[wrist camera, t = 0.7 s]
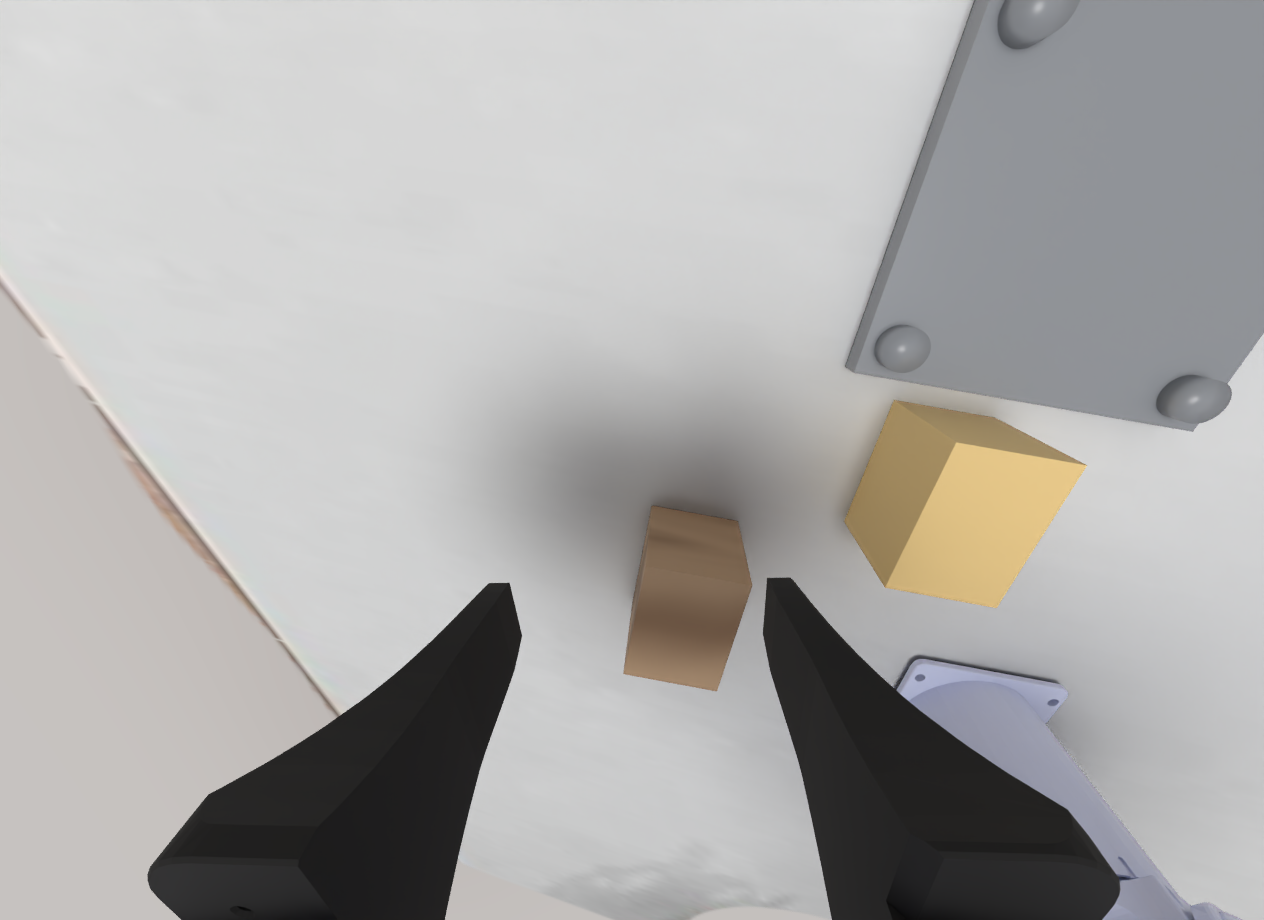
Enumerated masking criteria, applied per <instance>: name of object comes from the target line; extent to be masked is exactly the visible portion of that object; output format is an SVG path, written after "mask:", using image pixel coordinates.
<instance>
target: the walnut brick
mask: <svg viewBox="0 0 1264 920" xmlns="http://www.w3.org/2000/svg"><path fill="white" fill-rule="evenodd" d="M751 588H752V582H751V577H750V573H749V569H748V564H747V560H746V555H745V551H744V546H743V542H742V538H741V533H740V529H739V524H738V521H735V520H729V519H724V518H718V517H713V516H707V515H702V514H696V513H691V512H685V511H679V510H674V509H668V508H663V507H657V506H652V507H651V512H650V517H649V522H648V527H647V532H646V537H645V542H644V547H643V552H642V557H641V562H640V567H639V572H638V577H637V582H636V587H635V592H634V597H633V602H632V610H631V618H630V626H629V634H628V642H627V649H626V657H625V665H624V673H623V674H627V675H632V676H637V677H643V678H648V679H653V680H659V681H664V682H669V683H675V684H680V685H686V686H691V687H696V688H702V689H707V690H712V691H717V689H718V686H719V683H720V680H721V677H722V674H723V671H724V668H725V665H726V662H727V659H728V656H729V653H730V651H731V648H732V645H733V642H734V639H735V636H736V633H737V630H738V627H739V624H740V621H741V618H742V615H743V612H744V609H745V606H746V603H747V600H748V597H749V594H750V591H751Z"/></svg>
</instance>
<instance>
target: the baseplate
mask: <svg viewBox="0 0 1264 920" xmlns="http://www.w3.org/2000/svg"><path fill="white" fill-rule="evenodd" d="M1263 333H1264V0H975V2H974V5H973V7H972V10H971V13H970V16H969V19H968V22H967V24H966V27H965V30H964V33H963V36H962V39H961V41H960V44H959V47H958V50H957V53H956V55H955V58H954V61H953V64H952V67H951V70H950V72H949V75H948V78H947V81H946V84H945V87H944V89H943V92H942V95H941V98H940V101H939V104H938V106H937V109H936V112H935V115H934V118H933V121H932V123H931V126H930V129H929V132H928V135H927V137H926V140H925V143H924V146H923V149H922V152H921V154H920V157H919V160H918V163H917V166H916V169H915V171H914V174H913V177H912V180H911V183H910V186H909V188H908V191H907V194H906V197H905V200H904V203H903V205H902V208H901V211H900V214H899V217H898V219H897V222H896V225H895V228H894V231H893V234H892V236H891V239H890V242H889V245H888V248H887V251H886V253H885V256H884V259H883V262H882V265H881V268H880V270H879V273H878V276H877V279H876V282H875V284H874V287H873V290H872V293H871V296H870V299H869V301H868V304H867V307H866V310H865V313H864V316H863V318H862V321H861V324H860V327H859V330H858V333H857V335H856V338H855V341H854V344H853V347H852V350H851V352H850V355H849V358H848V361H847V364H846V366H845V367H846V368H848V369H849V370H851V371H852V372H854V373H859V374H865V375H871V376H876V377H882V378H888V379H894V380H899V381H905V382H911V383H917V384H922V385H928V386H934V387H940V388H945V389H951V390H957V391H962V392H968V393H974V394H980V395H985V396H991V397H997V398H1003V399H1008V400H1014V401H1020V402H1026V403H1031V404H1037V405H1043V406H1049V407H1054V408H1060V409H1066V410H1072V411H1077V412H1083V413H1089V414H1094V415H1100V416H1106V417H1112V418H1117V419H1123V420H1129V421H1135V422H1140V423H1146V424H1152V425H1158V426H1163V427H1169V428H1175V429H1181V430H1186V431H1192V432H1193V431H1194V429H1195V428H1196V426H1197V425H1198V424H1199V423H1203V422H1206V421H1208V420H1211V419H1213V418H1214V417H1216V416H1217V415H1219V414H1220V413H1221V412H1222V411H1223V410H1224V409H1225V408H1226V407H1227V405H1228V404H1229V402H1230V400H1231V396H1232V392H1231V388H1230V386H1229V385H1228V384H1227V383H1228V382H1229V381H1230V379H1231V378H1232V376H1233V375H1234V374H1235V372H1236V371H1237V369H1238V368H1239V367H1240V365H1241V364H1242V362H1243V361H1244V360H1245V358H1246V357H1247V356H1248V354H1249V353H1250V351H1251V350H1252V349H1253V347H1254V346H1255V344H1256V343H1257V342H1258V340H1259V339H1260V337H1261V336H1262V335H1263Z"/></svg>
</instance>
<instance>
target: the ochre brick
mask: <svg viewBox="0 0 1264 920" xmlns="http://www.w3.org/2000/svg"><path fill="white" fill-rule="evenodd" d="M1086 466H1087V465H1085V464H1083V463H1081V462H1079V461H1077V460H1075V459H1074V458H1072V457H1070V456H1068V455H1066V454H1064V453H1062V452H1060V451H1058V450H1056V449H1054V448H1052V447H1050V446H1048V445H1047V444H1045V443H1043V442H1041V441H1039V440H1037V439H1035V438H1033V437H1031V436H1029V435H1027V434H1025V433H1023V432H1021V431H1020V430H1018V429H1016V428H1014V427H1012V426H1010V425H1008V424H1006V423H1004V422H1002V421H1000V420H998V419H996V418H993V417H988V416H982V415H976V414H971V413H965V412H959V411H953V410H948V409H942V408H936V407H931V406H925V405H919V404H913V403H908V402H902V401H896V400H894V401H893V404H892V406H891V409H890V411H889V414H888V416H887V418H886V421H885V423H884V426H883V428H882V431H881V433H880V435H879V438H878V440H877V443H876V445H875V448H874V450H873V452H872V455H871V457H870V460H869V462H868V465H867V467H866V469H865V472H864V474H863V477H862V479H861V482H860V484H859V486H858V489H857V491H856V494H855V496H854V499H853V501H852V503H851V506H850V508H849V511H848V513H847V516H846V518H845V520H844V522H845V524H846V525H847V527H848V529H849V530H850V532H851V533H852V535H853V537H854V538H855V540H856V541H857V543H858V545H859V546H860V548H861V550H862V551H863V553H864V554H865V556H866V558H867V559H868V561H869V562H870V564H871V566H872V567H873V569H874V571H875V572H876V574H877V575H878V577H879V579H880V580H881V582H882V583H883V585H884V587H885V588H890V589H895V590H901V591H906V592H912V593H917V594H923V595H928V596H934V597H939V598H944V599H950V600H955V601H961V602H966V603H972V604H977V605H983V606H988V607H994V608H997V606H998V605H999V603H1000V602H1001V600H1002V599H1003V597H1004V595H1005V594H1006V592H1007V591H1008V589H1009V588H1010V586H1011V584H1012V583H1013V581H1014V580H1015V578H1016V577H1017V575H1018V573H1019V572H1020V570H1021V569H1022V567H1023V565H1024V564H1025V562H1026V561H1027V559H1028V558H1029V556H1030V554H1031V553H1032V551H1033V550H1034V548H1035V547H1036V545H1037V543H1038V542H1039V540H1040V539H1041V537H1042V536H1043V534H1044V532H1045V531H1046V529H1047V528H1048V526H1049V525H1050V523H1051V521H1052V520H1053V518H1054V517H1055V515H1056V514H1057V512H1058V510H1059V509H1060V507H1061V506H1062V504H1063V503H1064V501H1065V499H1066V498H1067V496H1068V495H1069V493H1070V492H1071V490H1072V488H1073V487H1074V485H1075V484H1076V482H1077V481H1078V479H1079V477H1080V476H1081V474H1082V473H1083V471H1084V469H1085V468H1086Z"/></svg>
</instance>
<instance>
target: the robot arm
mask: <svg viewBox="0 0 1264 920" xmlns="http://www.w3.org/2000/svg"><path fill="white" fill-rule="evenodd" d="M763 636H764V641H765V646H766V652H767V657H768V662H769V667H770V671H771V675H772V678H773V681H774V684H775V688H776V691H777V694H778V697H779V700H780V704H781V707H782V710H783V713H784V716H785V719H786V723H787V726H788V729H789V732H790V735H791V739H792V742H793V745H794V748H795V751H796V754H797V758H798V762H799V765H800V769H801V773H802V777H803V781H804V786H805V790H806V795H807V799H808V804H809V809H810V813H811V818H812V822H813V827H814V832H815V837H816V842H817V846H818V851H819V856H820V861H821V866H822V871H823V876H824V881H825V886H826V891H827V897H828V902H829V907H830V912H831V917H832V920H1242V919H1240V918H1238V917H1236V916H1233V915H1231V914H1229V913H1227V912H1223V911H1222V910H1221V909H1219V908H1218V907H1217V906H1215V905H1213V904H1211V903H1209V902H1204V903H1200V904H1196V905H1193V906H1191V905H1190V904H1188V903H1187V902H1186V901H1185V900H1184V899H1183V898H1181V897H1180V896H1179V895H1178V894H1177V892H1176V891H1175V890H1174V888H1173V887H1172V886H1171V885H1170V883H1169V882H1168V881H1167V879H1166V878H1165V877H1164V876H1163V874H1162V873H1161V872H1160V871H1159V869H1158V868H1157V867H1156V865H1155V864H1154V863H1153V862H1152V860H1151V859H1150V858H1149V856H1148V855H1147V854H1146V853H1145V851H1144V850H1143V849H1142V847H1141V846H1140V845H1139V844H1138V842H1137V841H1136V840H1135V838H1134V837H1133V836H1132V835H1131V833H1130V832H1129V831H1128V830H1127V828H1126V827H1125V826H1124V824H1123V823H1122V822H1121V821H1120V819H1119V818H1118V817H1117V815H1116V814H1115V813H1114V812H1113V810H1112V809H1111V808H1110V806H1109V805H1108V804H1107V803H1106V801H1105V800H1104V799H1103V797H1102V796H1101V795H1100V794H1099V792H1098V791H1097V790H1096V788H1095V787H1094V786H1093V785H1092V783H1091V782H1090V781H1089V780H1088V778H1087V777H1086V776H1085V774H1084V773H1083V772H1082V771H1081V769H1080V768H1079V767H1078V765H1077V764H1076V763H1075V762H1074V760H1073V759H1072V758H1071V756H1070V755H1069V754H1068V753H1067V751H1066V750H1065V749H1064V747H1063V746H1062V745H1061V744H1060V742H1059V741H1058V740H1057V738H1056V737H1055V736H1054V735H1053V733H1052V732H1051V731H1050V730H1049V728H1048V727H1047V726H1046V723H1047V722H1048V721H1049V719H1050V718H1051V717H1052V716H1053V714H1054V713H1055V712H1056V711H1057V709H1058V708H1059V707H1060V706H1061V704H1062V703H1063V702H1064V701H1065V700H1066V698H1067V697H1068V691H1067V690H1066V689H1065V688H1064V687H1063V686H1062V685H1060V684H1057V683H1051V682H1046V681H1041V680H1035V679H1030V678H1024V677H1019V676H1014V675H1008V674H1003V673H997V672H992V671H987V670H981V669H976V668H970V667H965V666H960V665H954V664H949V663H943V662H938V661H933V660H927V659H917V660H915V661H914V662H913V663H912V664H911V666H910V667H909V669H908V671H907V673H906V674H905V676H904V678H903V680H902V681H901V683H900V685H899V687H898V688H897V690H895V689H894V688H893V687H892V686H891V685H890V684H888V683H887V682H886V681H885V680H884V679H883V678H882V677H881V676H880V675H879V674H877V673H876V672H875V671H874V670H873V669H872V668H871V667H870V666H869V665H868V664H867V663H866V662H865V661H864V660H863V659H862V658H861V657H860V656H859V655H858V654H857V653H856V652H855V651H854V650H853V649H852V648H851V647H850V646H849V645H848V644H847V643H846V642H845V641H844V639H843V638H842V637H841V636H840V635H839V634H838V633H837V632H836V631H835V630H834V628H833V627H832V626H831V625H830V624H829V623H828V622H827V621H826V620H825V618H824V617H823V616H822V615H821V614H820V613H819V611H818V610H817V609H816V608H815V607H814V605H813V604H812V603H811V602H810V601H809V599H808V598H807V597H806V596H805V594H804V593H803V592H802V591H801V589H800V588H799V587H798V586H797V584H796V583H795V582H794V581H793V580H792V579H791V578H767V589H766V602H765V615H764V628H763ZM521 638H522V634H521V630H520V625H519V621H518V617H517V613H516V608H515V604H514V600H513V596H512V592H511V587H510V583H489V584H488V585H487V586H486V587H485V588H484V589H483V590H482V591H481V592H480V593H479V594H478V595H477V596H476V597H475V598H474V599H473V600H472V601H471V602H470V603H469V604H468V605H467V606H466V607H465V608H464V609H463V610H462V611H461V612H460V613H459V614H458V615H457V616H456V617H455V618H454V619H453V620H452V621H451V622H450V623H449V624H448V625H447V626H446V627H445V628H444V629H443V630H442V631H441V632H440V633H439V634H438V635H437V636H436V637H435V638H434V639H433V640H432V641H431V642H430V643H429V644H428V645H427V646H426V647H425V648H424V649H422V650H421V651H420V652H419V653H418V654H417V655H416V656H415V657H414V658H413V659H412V660H410V661H409V662H408V663H407V664H406V665H405V666H404V667H403V668H402V669H400V670H399V671H398V672H397V673H396V674H394V675H393V676H392V677H391V678H390V679H388V680H387V681H386V682H385V683H383V684H382V685H381V686H380V687H378V688H377V689H376V690H375V691H373V692H372V693H371V694H370V695H368V696H367V697H366V698H364V699H363V700H362V701H360V702H359V703H357V704H356V705H355V706H353V707H352V708H350V709H349V710H347V711H346V712H345V713H343V714H342V715H340V716H339V717H338V718H336V719H335V720H333V721H332V722H331V723H329V724H328V725H326V726H325V727H323V728H322V729H320V730H319V731H318V732H316V733H314V734H313V735H311V736H310V737H308V738H306V739H305V740H303V741H302V742H300V743H299V744H297V745H296V746H294V747H292V748H291V749H289V750H287V751H285V752H284V753H283V754H281V755H279V756H277V757H276V758H274V759H272V760H271V761H269V762H267V763H265V764H264V765H262V766H260V767H258V768H256V769H255V770H253V771H251V772H249V773H247V774H246V775H244V776H242V777H240V778H238V779H236V780H235V781H233V782H231V783H229V784H227V785H226V786H224V787H222V788H220V789H218V790H216V791H215V792H212V793H211V794H209V795H208V796H207V797H206V798H205V799H204V801H203V802H202V803H201V804H200V806H199V807H198V808H197V809H196V811H195V812H194V813H193V814H192V816H191V817H190V818H189V819H188V821H187V822H186V823H185V825H184V826H183V827H182V828H181V829H180V830H179V832H178V833H177V834H176V835H175V837H174V838H173V839H172V840H171V842H170V843H169V844H168V845H167V847H166V848H165V849H164V850H163V852H162V853H161V854H160V855H159V857H158V858H157V859H156V860H155V862H154V863H153V864H152V866H151V867H150V869H149V872H148V882H149V886H150V889H151V890H152V891H153V892H154V894H155V895H156V896H157V897H158V898H159V899H160V900H161V901H162V902H163V903H164V904H165V905H166V906H167V907H169V909H171V910H172V911H173V912H174V913H175V914H176V915H177V916H178V917H179V918H180V919H181V920H445V915H446V910H447V905H448V901H449V896H450V891H451V887H452V882H453V878H454V873H455V869H456V864H457V859H458V855H459V851H460V846H461V842H462V838H463V834H464V830H465V825H466V821H467V817H468V813H469V809H470V805H471V801H472V797H473V793H474V790H475V786H476V782H477V778H478V774H479V770H480V767H481V764H482V761H483V758H484V754H485V751H486V749H487V746H488V743H489V740H490V737H491V735H492V732H493V729H494V726H495V724H496V721H497V718H498V715H499V712H500V710H501V707H502V704H503V701H504V698H505V696H506V693H507V690H508V687H509V684H510V681H511V679H512V676H513V673H514V669H515V665H516V661H517V657H518V652H519V647H520V643H521Z"/></svg>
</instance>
